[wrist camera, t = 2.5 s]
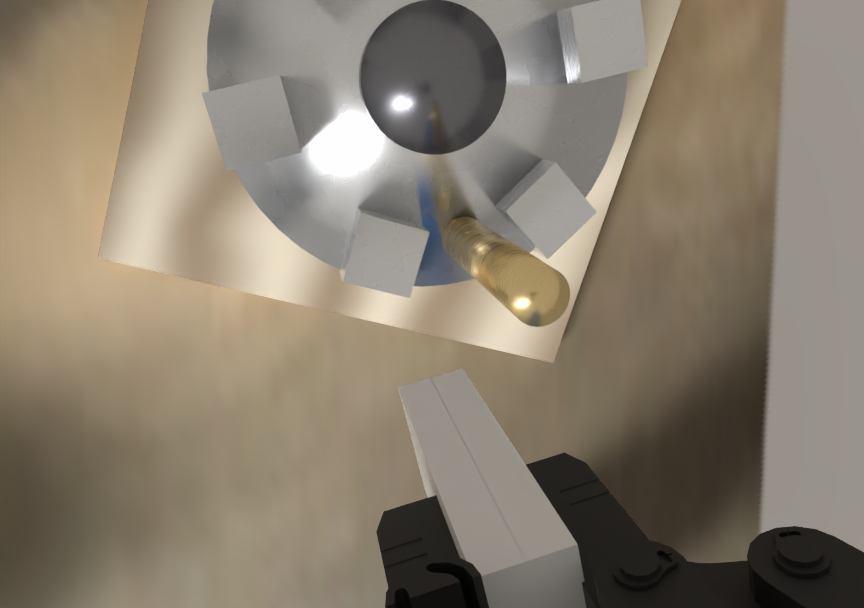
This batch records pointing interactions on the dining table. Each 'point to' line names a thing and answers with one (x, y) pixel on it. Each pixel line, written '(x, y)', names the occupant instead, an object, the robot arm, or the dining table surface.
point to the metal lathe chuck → (425, 132)
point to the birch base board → (261, 240)
